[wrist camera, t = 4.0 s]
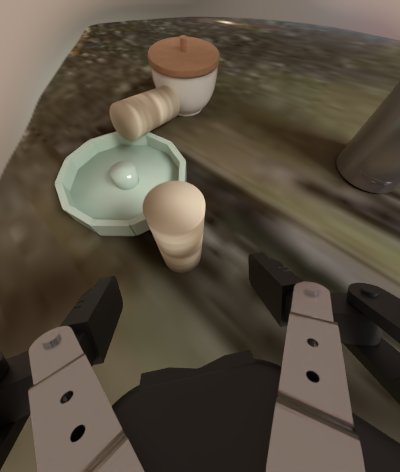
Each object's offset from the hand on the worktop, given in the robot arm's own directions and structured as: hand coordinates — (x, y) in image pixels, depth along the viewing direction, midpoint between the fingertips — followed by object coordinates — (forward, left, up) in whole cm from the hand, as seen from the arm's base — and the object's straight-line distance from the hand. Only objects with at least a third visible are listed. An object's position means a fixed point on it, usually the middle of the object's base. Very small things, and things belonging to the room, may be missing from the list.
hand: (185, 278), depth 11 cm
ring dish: (-9, -15, -10) cm, 20 cm away
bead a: (-4, -3, -10) cm, 11 cm away
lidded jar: (-29, -18, -10) cm, 36 cm away
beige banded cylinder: (-14, -18, -4) cm, 23 cm away
